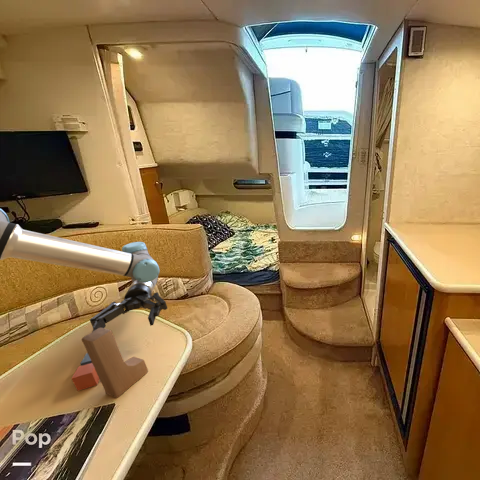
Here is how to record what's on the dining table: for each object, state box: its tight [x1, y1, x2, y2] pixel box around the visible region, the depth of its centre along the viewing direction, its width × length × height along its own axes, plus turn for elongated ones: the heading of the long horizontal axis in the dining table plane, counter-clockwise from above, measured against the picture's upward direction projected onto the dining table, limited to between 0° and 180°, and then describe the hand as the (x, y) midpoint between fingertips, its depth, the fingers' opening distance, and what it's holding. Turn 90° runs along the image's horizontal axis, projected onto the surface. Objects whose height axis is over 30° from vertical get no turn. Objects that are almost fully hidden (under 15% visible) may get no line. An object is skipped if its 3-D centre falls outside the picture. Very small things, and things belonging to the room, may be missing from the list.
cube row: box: [70, 352, 100, 392], centre depth 78 cm, size 15×4×4 cm, turn 22°
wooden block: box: [81, 327, 149, 399], centre depth 70 cm, size 9×4×18 cm, turn 159°
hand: (123, 328), depth 76 cm, fingers open, 13 cm apart
